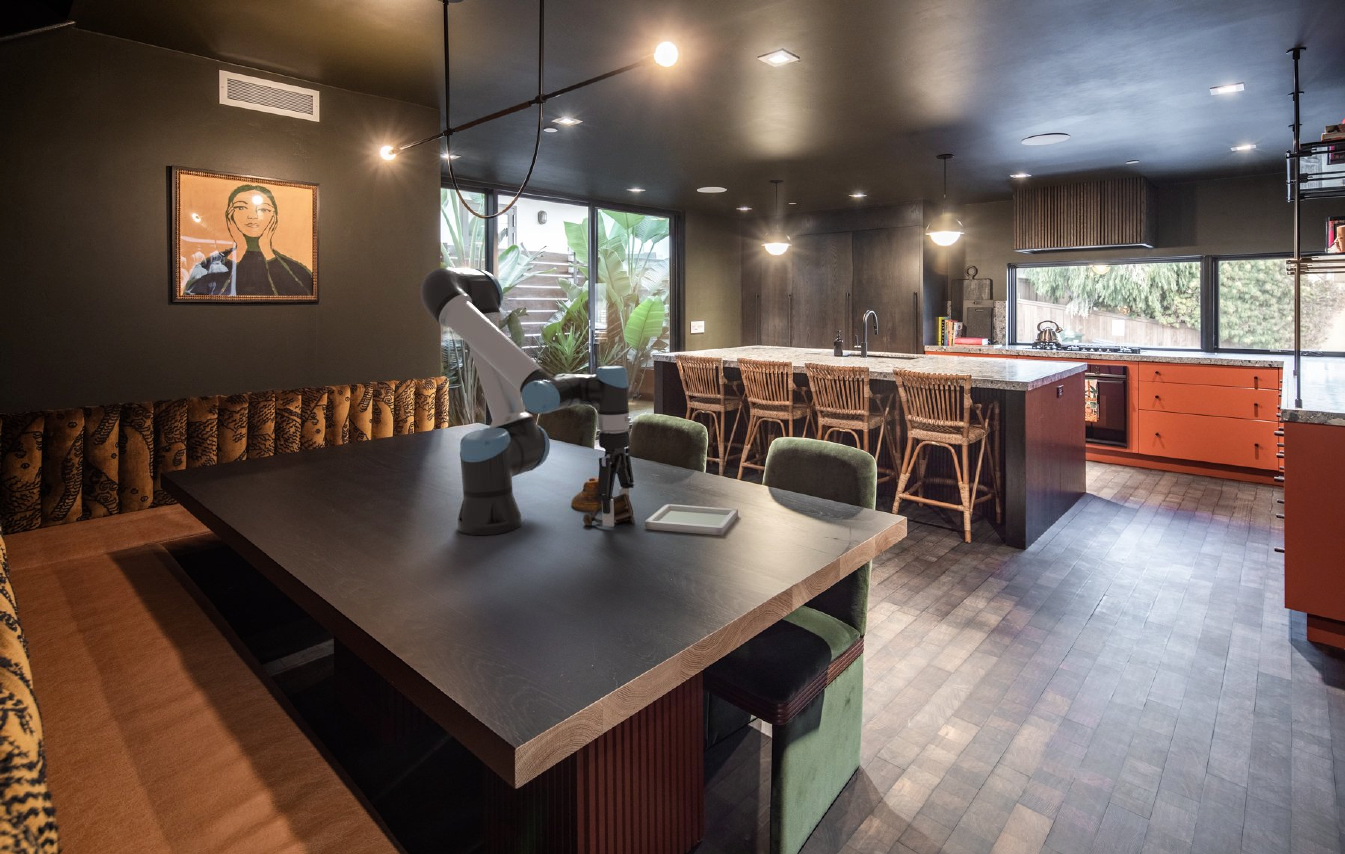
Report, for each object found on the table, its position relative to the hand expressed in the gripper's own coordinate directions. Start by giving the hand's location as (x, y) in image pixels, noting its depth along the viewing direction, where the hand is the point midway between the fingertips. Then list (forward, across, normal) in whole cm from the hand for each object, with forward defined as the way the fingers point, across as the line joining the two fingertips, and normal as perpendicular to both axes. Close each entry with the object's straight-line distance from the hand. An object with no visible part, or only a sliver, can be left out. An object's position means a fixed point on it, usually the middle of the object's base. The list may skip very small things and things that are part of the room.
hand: (617, 519), depth 175 cm
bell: (+1, +13, +13) cm, 18 cm away
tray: (+1, +5, -18) cm, 19 cm away
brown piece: (+1, 0, +2) cm, 2 cm away
